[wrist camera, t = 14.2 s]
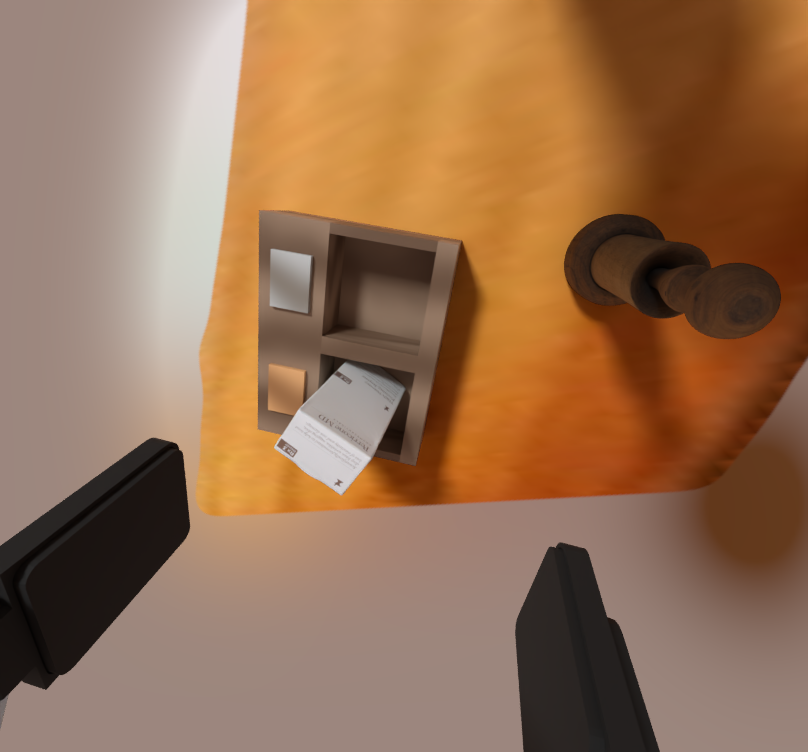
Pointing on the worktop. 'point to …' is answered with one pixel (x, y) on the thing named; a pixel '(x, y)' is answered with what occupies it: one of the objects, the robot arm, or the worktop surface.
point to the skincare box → (342, 424)
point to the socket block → (350, 315)
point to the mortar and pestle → (668, 278)
